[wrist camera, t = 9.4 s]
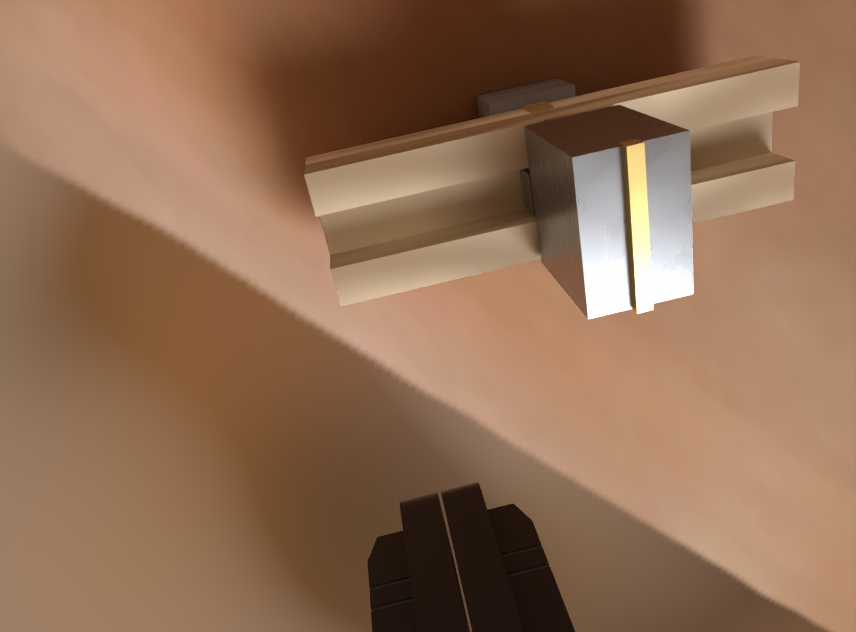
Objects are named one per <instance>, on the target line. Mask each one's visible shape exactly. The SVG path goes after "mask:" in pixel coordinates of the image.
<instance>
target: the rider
mask: <svg viewBox="0 0 856 632" xmlns="http://www.w3.org/2000/svg"><path fill="white" fill-rule="evenodd" d="M524 131H525V139H526V146H527V154H528V162H529V168H525V169H521V170H520V175H521V182H522V190H523V197H524V204H525V207H526V208H527V209H528V210H529V211H530V212H531V213H532V214H533V215H534V216H536V224H537V231H538V239H539V247H540V255H541V262H542V263H543V264H544V266H545V267H546V268H547V269H548V271H549V272H550V273H551V274H552V275H553V277H554V278H555V279H556V280H557V282H558V283H559V284H560V285H561V286H562V288H563V289H564V290H565V291H566V293H567V294H568V295H569V296H570V297H571V299H572V300H573V301H574V302H575V304H576V305H577V306H578V307H579V309H580V310H581V311H582V312H583V313H584V315H585V316H586V317H587V318H588V319H592V318H596V317H600V316H604V315H608V314H613V313H617V312H621V311H625V310H629V309H633V310H634V311H635V312H636V313H637V314H638V313H642V312H647V311H651V310H653V304H654V303H658V302H663V301H667V300H671V299H675V298H679V297H683V296H688V295H692V294H694V288H693V243H692V198H691V154H690V130H687V129H685V128H682V127H679V126H676V125H674V124H671V123H668V122H665V121H663V120H660V119H657V118H655V117H652V116H649V115H646V114H644V113H641V112H638V111H635V110H633V109H630V108H627V107H624V106H622V105H615V106H611V107H606V108H602V109H598V110H593V111H589V112H584V113H580V114H576V115H571V116H567V117H563V118H558V119H554V120H549V121H545V122H541V123H536V124H532V125H527V126H524Z"/></svg>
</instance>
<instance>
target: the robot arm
mask: <svg viewBox="0 0 856 632" xmlns="http://www.w3.org/2000/svg"><path fill="white" fill-rule="evenodd" d="M441 494H442V499H443V503H444V508H445V512H446V517H447V521H448V525H449V530H450V534H451V539H452V543H453V548H454V552H455V556H456V561H457V565H458V570H459V574H460V578H461V583H462V587H463V592H464V596H465V601H466V605H467V609H468V614H469V618H470V623H471V627H472V631H473V632H575V630H574V628H573V625H572V622H571V620H570V617H569V615H568V612H567V610H566V607H565V604H564V602H563V599H562V597H561V594H560V592H559V589H558V586H557V584H556V581H555V579H554V576H553V573H552V571H551V569H550V567H549V563H548V561H547V558H546V555H545V553H544V550H543V548H542V546H541V542H540V540H539V537H538V535H537V532H536V529H535V527H534V524H533V522H532V520H531V519H530V518H529V517H527V516H526V515H525V514H524V513H523V512H522V511H521V510H520V509H519V508H518V507H517V506H515V505H514V504H510V505H506V506H502V507H497V508H493V509H489V510H487V508H486V505H485V502H484V498H483V495H482V492H481V489H480V485H479V483H478V482H477V483H473V484H469V485H465V486H461V487H457V488H453V489H449V490H445V491H441ZM400 509H401V517H402V524H403V531H400V532H396V533H392V534H388V535H384V536H380V537H377V539H376V542H375V545H374V547H373V549H372V552H371V554H370V557H369V559H368V574H369V587H370V603H371V610H372V612H371V617H372V630H373V632H470V630H469V625H468V621H467V616H466V612H465V608H464V603H463V598H462V594H461V589H460V585H459V580H458V576H457V572H456V567H455V564H454V559H453V555H452V550H451V546H450V542H449V538H448V534H447V530H446V525H445V521H444V517H443V513H442V509H441V505H440V501H439V497H438V493H433V494H429V495H425V496H421V497H416V498H413V499H408V500H404V501H401V502H400Z"/></svg>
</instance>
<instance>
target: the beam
mask: <svg viewBox="0 0 856 632" xmlns="http://www.w3.org/2000/svg"><path fill="white" fill-rule="evenodd" d="M799 71H800V62H798V61H790V60H783V59H776V58H768V57H761V56H751V57H747V58H743V59H738V60H734V61H729V62H725V63H721V64H716V65H712V66H707V67H703V68H698V69H694V70H690V71H685V72H681V73H676V74H672V75H668V76H663V77H659V78H654V79H650V80H646V81H641V82H637V83H632V84H628V85H624V86H619V87H615V88H610V89H606V90H601V91H597V92H593V93H588V94H584V95H579V96H576V91H575V85H574V84H571V83H568V82H565V81H562V80H559V79H557V78H552V79H548V80H543V81H539V82H535V83H530V84H526V85H521V86H517V87H512V88H508V89H503V90H499V91H495V92H490V93H486V94H481V95H477V96H476V101H477V107H478V114H479V118H478V119H474V120H469V121H465V122H460V123H456V124H452V125H447V126H443V127H438V128H434V129H429V130H425V131H421V132H416V133H412V134H407V135H403V136H399V137H394V138H390V139H385V140H381V141H377V142H372V143H368V144H363V145H359V146H354V147H350V148H346V149H341V150H337V151H332V152H328V153H324V154H319V155H315V156H310V157H306V162H305V170H304V177H305V180H306V184H307V187H308V191H309V194H310V198H311V202H312V205H313V209H314V212H315V216H316V217H317V216H320V220H321V224H322V227H323V231H324V234H325V238H326V242H327V245H328V249H329V252H330V269H331V273H332V277H333V280H334V284H335V287H336V291H337V294H338V298H339V302H340V305H341V306H344V305H349V304H353V303H357V302H361V301H366V300H370V299H374V298H378V297H383V296H387V295H391V294H395V293H400V292H404V291H408V290H412V289H416V288H421V287H425V286H429V285H433V284H438V283H442V282H446V281H450V280H455V279H459V278H463V277H467V276H472V275H476V274H480V273H484V272H489V271H493V270H497V269H501V268H506V267H510V266H514V265H518V264H523V263H527V262H531V261H535V260H540V259H541V255H540V247H539V239H538V231H537V224H536V216H534V215H533V214H532V213H531V212H530V211H529V210H528V209H527V208H526V207H525V204H524V197H523V190H522V182H521V175H520V170H521V169H525V168H529V162H528V154H527V146H526V139H525V131H524V126H527V125H532V124H536V123H541V122H545V121H549V120H554V119H558V118H563V117H567V116H571V115H576V114H580V113H584V112H589V111H593V110H598V109H602V108H606V107H611V106H615V105H622V106H624V107H627V108H630V109H633V110H635V111H638V112H641V113H644V114H646V115H649V116H652V117H655V118H657V119H660V120H663V121H665V122H668V123H671V124H674V125H676V126H679V127H682V128H685V129H687V130H690V154H691V198H692V223H697V222H701V221H705V220H709V219H714V218H718V217H722V216H726V215H731V214H735V213H739V212H743V211H748V210H752V209H756V208H760V207H765V206H769V205H773V204H777V203H782V202H786V201H790V200H793V199H794V178H795V161H794V160H791V159H789V158H786V157H783V156H780V155H777V154H774V153H771V148H772V115H773V111H777V110H782V109H786V108H790V107H795V106H798V92H799Z"/></svg>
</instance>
